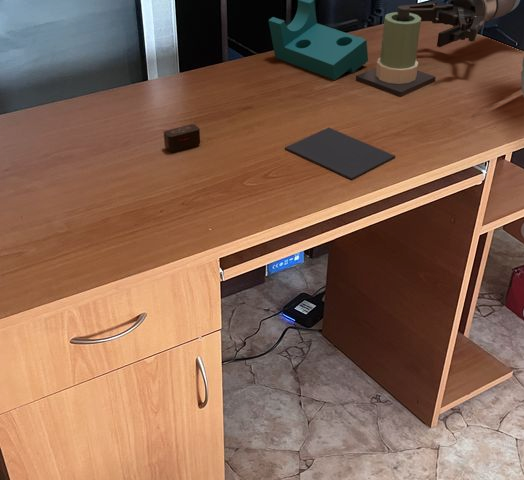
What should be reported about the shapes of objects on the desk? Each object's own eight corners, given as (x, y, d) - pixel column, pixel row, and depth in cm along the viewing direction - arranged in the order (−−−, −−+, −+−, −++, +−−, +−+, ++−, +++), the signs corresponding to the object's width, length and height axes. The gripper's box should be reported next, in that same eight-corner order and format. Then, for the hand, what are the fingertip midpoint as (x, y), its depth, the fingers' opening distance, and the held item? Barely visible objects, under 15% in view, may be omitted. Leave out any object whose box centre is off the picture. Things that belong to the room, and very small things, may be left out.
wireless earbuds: (205, 144, 144) (204, 128, 142) (170, 154, 141) (169, 137, 139) (193, 135, 147) (192, 118, 145) (159, 144, 144) (157, 127, 142)
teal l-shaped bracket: (276, 63, 178) (268, 20, 170) (308, 39, 182) (302, -4, 174) (335, 86, 169) (330, 41, 161) (368, 60, 172) (364, 16, 164)
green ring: (421, 62, 165) (428, 18, 159) (400, 71, 161) (406, 26, 155) (394, 53, 169) (399, 9, 163) (373, 61, 165) (377, 17, 159)
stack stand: (435, 81, 168) (446, 7, 158) (400, 96, 161) (409, 21, 151) (390, 65, 174) (399, -6, 164) (355, 80, 168) (362, 7, 158)
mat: (395, 157, 141) (395, 155, 141) (351, 180, 134) (351, 178, 134) (328, 129, 149) (328, 127, 149) (284, 149, 143) (284, 147, 143)
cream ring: (423, 76, 167) (425, 62, 165) (399, 87, 162) (401, 72, 160) (392, 65, 171) (394, 51, 169) (368, 75, 167) (369, 61, 165)
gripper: (516, 40, 171) (459, 66, 159) (423, 13, 184) (364, 34, 173) (523, 4, 166) (465, 28, 154) (427, -21, 179) (368, -1, 168)
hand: (412, 31), depth 164 cm, fingers open, 13 cm apart
